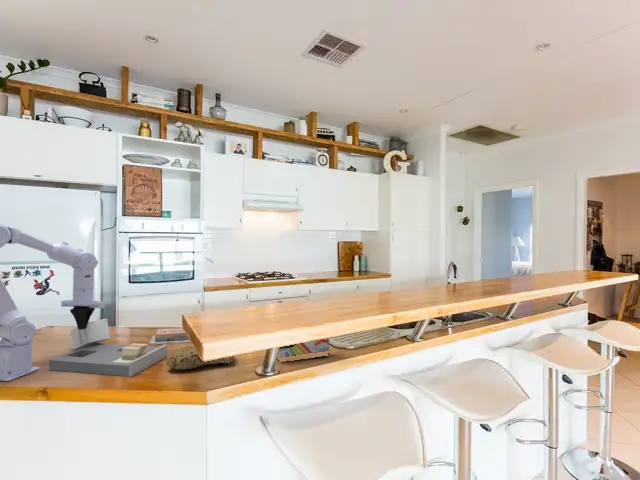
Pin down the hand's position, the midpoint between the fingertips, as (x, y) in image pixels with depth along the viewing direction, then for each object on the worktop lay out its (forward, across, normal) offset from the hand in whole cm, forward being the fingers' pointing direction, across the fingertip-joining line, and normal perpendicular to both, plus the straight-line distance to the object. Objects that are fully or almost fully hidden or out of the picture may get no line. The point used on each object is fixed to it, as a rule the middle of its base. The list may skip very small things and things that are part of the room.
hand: (82, 328), depth 116 cm
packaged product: (+10, -20, -24) cm, 33 cm away
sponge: (+10, -42, 0) cm, 44 cm away
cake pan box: (+10, -72, -13) cm, 74 cm away
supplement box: (+6, +8, -10) cm, 14 cm away
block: (+6, -23, +5) cm, 24 cm away
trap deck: (+9, -14, +3) cm, 17 cm away
